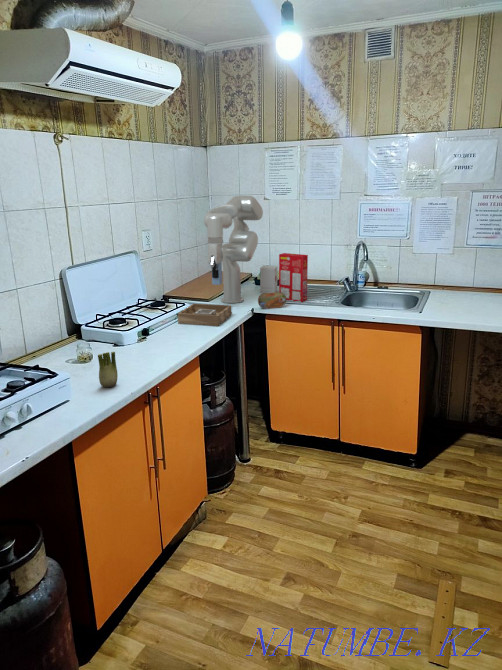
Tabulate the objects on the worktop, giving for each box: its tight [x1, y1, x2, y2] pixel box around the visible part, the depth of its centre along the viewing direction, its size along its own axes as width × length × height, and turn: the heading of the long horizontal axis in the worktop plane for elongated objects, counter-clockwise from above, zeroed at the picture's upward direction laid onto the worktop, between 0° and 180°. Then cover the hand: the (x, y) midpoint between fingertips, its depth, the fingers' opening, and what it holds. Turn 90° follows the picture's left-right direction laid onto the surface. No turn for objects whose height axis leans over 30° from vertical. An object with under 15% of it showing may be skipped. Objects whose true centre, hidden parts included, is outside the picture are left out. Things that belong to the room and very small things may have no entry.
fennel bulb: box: [97, 351, 118, 388], centre depth 172 cm, size 6×5×12 cm
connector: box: [210, 262, 223, 286], centre depth 262 cm, size 4×4×12 cm
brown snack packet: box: [257, 291, 287, 310], centre depth 270 cm, size 15×3×8 cm, turn 105°
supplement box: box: [259, 264, 278, 294], centre depth 305 cm, size 9×9×15 cm
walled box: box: [177, 303, 232, 327], centre depth 251 cm, size 20×20×5 cm
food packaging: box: [278, 252, 309, 303], centre depth 284 cm, size 15×5×25 cm, turn 56°
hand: (217, 276), depth 263 cm, fingers closed on connector, 4 cm apart
